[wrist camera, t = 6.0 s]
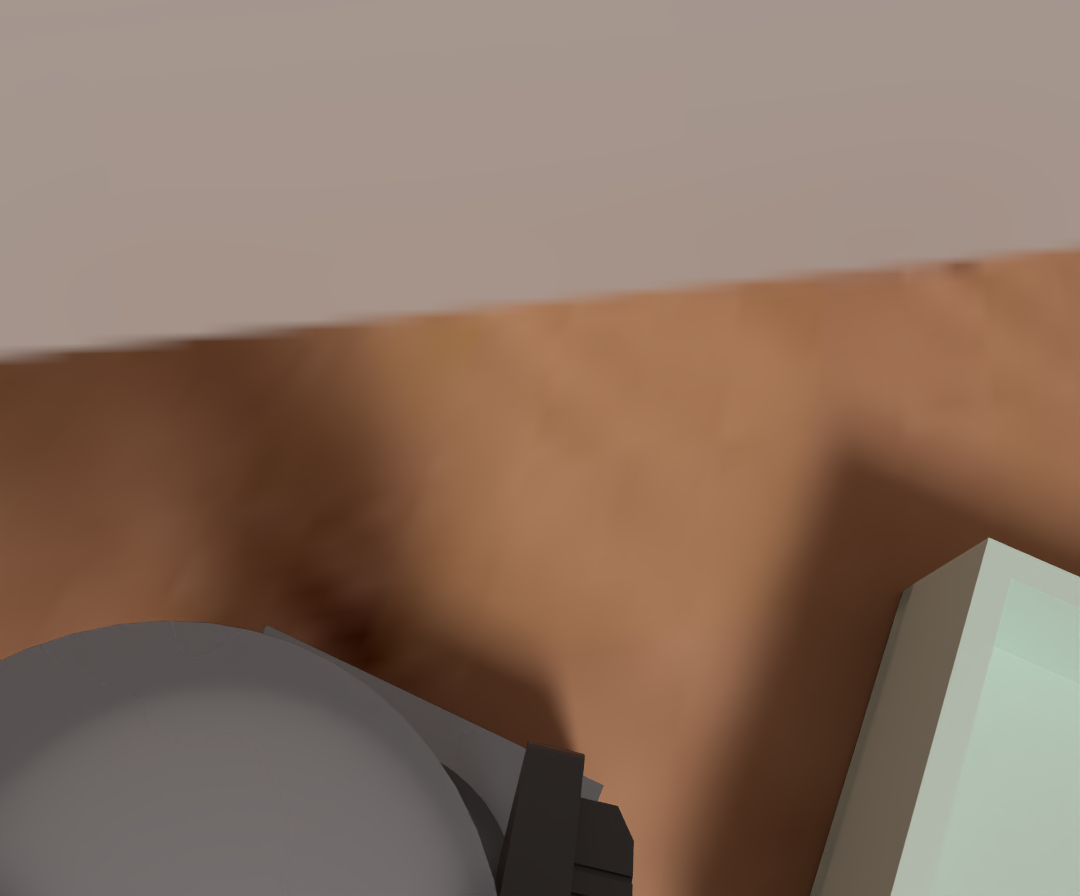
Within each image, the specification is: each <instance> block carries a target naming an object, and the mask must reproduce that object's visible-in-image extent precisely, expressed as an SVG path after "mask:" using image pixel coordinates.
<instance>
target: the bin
mask: <svg viewBox="0 0 1080 896" xmlns="http://www.w3.org/2000/svg"><path fill="white" fill-rule="evenodd" d="M810 896H1080V577H1079V576H1076V575H1074V574H1072V573H1069V572H1067V571H1065V570H1062V569H1060V568H1058V567H1056V566H1053V565H1051V564H1049V563H1046V562H1044V561H1042V560H1039V559H1037V558H1035V557H1033V556H1030V555H1028V554H1026V553H1023V552H1021V551H1019V550H1016V549H1014V548H1012V547H1009V546H1007V545H1005V544H1003V543H1000V542H998V541H996V540H993V539H991V538H987V539H985V540H984V541H982V542H981V543H979V544H977V545H976V546H974V547H972V548H971V549H969V550H968V551H966V552H964V553H963V554H961V555H959V556H958V557H956V558H955V559H953V560H951V561H950V562H948V563H946V564H945V565H943V566H942V567H940V568H938V569H937V570H935V571H933V572H932V573H930V574H929V575H927V576H925V577H924V578H922V579H921V580H919V581H917V582H916V583H914V584H912V585H911V586H909V587H908V588H906V589H904V590H903V592H902V595H901V599H900V602H899V605H898V609H897V612H896V615H895V618H894V622H893V625H892V628H891V631H890V635H889V638H888V641H887V645H886V648H885V651H884V654H883V658H882V661H881V664H880V668H879V671H878V674H877V677H876V681H875V684H874V687H873V691H872V694H871V697H870V700H869V704H868V707H867V710H866V714H865V717H864V720H863V723H862V727H861V730H860V733H859V737H858V740H857V743H856V746H855V750H854V753H853V756H852V759H851V763H850V766H849V769H848V773H847V776H846V779H845V782H844V786H843V789H842V792H841V796H840V799H839V802H838V805H837V809H836V812H835V815H834V819H833V822H832V825H831V828H830V832H829V835H828V838H827V842H826V845H825V848H824V851H823V855H822V858H821V861H820V864H819V868H818V871H817V874H816V878H815V881H814V884H813V887H812V891H811V894H810Z"/></svg>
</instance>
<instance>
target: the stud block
mask: <svg viewBox="0 0 1080 896" xmlns="http://www.w3.org/2000/svg"><path fill="white" fill-rule="evenodd" d="M262 634H265V635H268V636H271V637H274V638H277V639H280V640H284V641H287V642H290V643H293V644H295V645H297V646H299V647H301V648H303V649H306V650H308V651H310V652H312V653H314V654H316V655H318V656H320V657H322V658H325V659H327V660H329V661H331V662H333V663H334V664H336V665H337V666H339V667H340V668H342V669H343V670H345V671H346V672H348V673H349V674H351V675H352V676H354V677H355V678H357V679H359V680H360V681H362V682H363V683H365V684H366V685H368V686H369V687H370V688H371V689H372V690H373V691H375V692H376V693H377V694H378V695H379V696H380V697H381V698H383V699H384V700H385V701H386V702H387V703H388V704H389V705H391V706H392V707H393V708H394V709H395V710H396V711H397V712H399V713H400V714H401V715H402V716H403V717H404V718H405V720H406V721H407V722H408V723H409V724H410V725H411V727H412V728H413V729H414V730H415V731H416V732H417V733H418V735H419V736H420V737H421V738H422V739H423V740H424V741H425V743H426V744H427V745H428V746H429V747H430V748H431V750H432V751H433V753H434V754H435V756H436V757H437V759H438V760H439V762H441V763H442V764H444V765H445V766H447V767H448V768H450V769H451V770H453V771H454V772H455V773H456V774H458V775H459V776H460V777H461V778H462V779H463V780H464V781H466V782H467V783H468V784H469V785H470V786H471V787H472V788H473V789H474V790H475V792H476V793H477V794H478V795H479V796H480V797H481V798H482V800H483V801H484V802H485V803H486V805H487V806H488V808H489V809H490V811H491V812H492V814H493V815H494V817H495V819H496V820H497V822H498V824H499V826H500V828H501V830H502V832H503V834H504V836H505V833H506V829H507V825H508V820H509V816H510V812H511V808H512V804H513V800H514V796H515V792H516V788H517V784H518V780H519V776H520V772H521V767H522V763H523V759H524V755H525V751H526V748H524V747H522V746H520V745H518V744H515V743H513V742H511V741H509V740H507V739H505V738H503V737H501V736H499V735H497V734H494V733H492V732H490V731H488V730H486V729H484V728H482V727H480V726H478V725H476V724H474V723H471V722H469V721H467V720H465V719H463V718H461V717H459V716H457V715H455V714H453V713H450V712H448V711H446V710H444V709H442V708H440V707H438V706H436V705H434V704H432V703H429V702H427V701H425V700H423V699H421V698H419V697H417V696H415V695H413V694H411V693H408V692H406V691H404V690H402V689H400V688H398V687H396V686H394V685H392V684H390V683H387V682H385V681H383V680H381V679H379V678H377V677H375V676H373V675H371V674H369V673H367V672H364V671H362V670H360V669H358V668H356V667H354V666H352V665H350V664H348V663H346V662H343V661H341V660H339V659H337V658H335V657H333V656H331V655H329V654H327V653H325V652H322V651H320V650H318V649H316V648H314V647H312V646H310V645H308V644H306V643H304V642H301V641H299V640H297V639H295V638H293V637H291V636H289V635H287V634H285V633H283V632H280V631H278V630H276V629H274V628H272V627H270V626H268V625H267V626H266V627H265V629H264V631H263V633H262ZM603 786H604V785H602V784H599V783H597V782H595V781H593V780H591V779H589V778H587V777H585V776H583V780H582V790H581V797H582V798H586V799H590V800H594V801H598V798H599V796H600V793H601V791H602V788H603Z"/></svg>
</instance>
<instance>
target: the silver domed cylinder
mask: <svg viewBox="0 0 1080 896" xmlns="http://www.w3.org/2000/svg"><path fill="white" fill-rule="evenodd" d="M504 837H505V836H504V834H503V832H502V830H501V828H500V826H499V824H498V822H497V820H496V819H495V817H494V815H493V814H492V812H491V811H490V809H489V808H488V806H487V805H486V803H485V802H484V801H483V800H482V798H481V797H480V796H479V795H478V794H477V793H476V792H475V790H474V789H473V788H472V787H471V786H470V785H469V784H468V783H467V782H466V781H464V780H463V779H462V778H461V777H460V776H459V775H458V774H456V773H455V772H454V771H453V770H451V769H450V768H448V767H447V766H445V765H444V764H442V763H441V762H439V760H438V759H437V757H436V756H435V754H434V753H433V751H432V750H431V748H430V747H429V746H428V745H427V744H426V743H425V741H424V740H423V739H422V738H421V737H420V736H419V735H418V733H417V732H416V731H415V730H414V729H413V728H412V727H411V725H410V724H409V723H408V722H407V721H406V720H405V718H404V717H403V716H402V715H401V714H400V713H399V712H397V711H396V710H395V709H394V708H393V707H392V706H391V705H389V704H388V703H387V702H386V701H385V700H384V699H383V698H381V697H380V696H379V695H378V694H377V693H376V692H375V691H373V690H372V689H371V688H370V687H369V686H368V685H366V684H365V683H363V682H362V681H360V680H359V679H357V678H355V677H354V676H352V675H351V674H349V673H348V672H346V671H345V670H343V669H342V668H340V667H339V666H337V665H336V664H334V663H333V662H331V661H329V660H327V659H325V658H322V657H320V656H318V655H316V654H314V653H312V652H310V651H308V650H306V649H303V648H301V647H299V646H297V645H295V644H293V643H290V642H287V641H284V640H280V639H277V638H274V637H271V636H268V635H265V634H261V633H258V632H255V631H252V630H247V629H241V628H235V627H230V626H224V625H218V624H212V623H204V622H180V621H154V622H142V623H130V624H118V625H113V626H108V627H103V628H98V629H94V630H89V631H84V632H79V633H74V634H70V635H67V636H64V637H61V638H58V639H55V640H52V641H49V642H46V643H43V644H40V645H37V646H34V647H31V648H28V649H25V650H23V651H21V652H19V653H16V654H14V655H12V656H10V657H8V658H6V659H3V660H1V661H0V896H497V893H496V888H495V883H494V882H495V877H496V872H497V868H498V863H499V859H500V854H501V850H502V845H503V841H504Z"/></svg>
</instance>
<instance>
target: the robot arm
mask: <svg viewBox="0 0 1080 896" xmlns="http://www.w3.org/2000/svg"><path fill="white" fill-rule="evenodd" d="M584 759H585V756H584V754H582V753H578V752H574V751H569V750H565V749H561V748H557V747H553V746H549V745H544V744H540V743H536V742H532V741H528V744H527V747H526V751H525V755H524V759H523V763H522V767H521V772H520V776H519V780H518V784H517V788H516V792H515V796H514V800H513V804H512V808H511V812H510V816H509V820H508V825H507V829H506V833H505V837H504V841H503V845H502V850H501V854H500V859H499V863H498V868H497V872H496V877H495V882H494V883H495V888H496V893H497V896H632V885H633V884H632V878H633V849H634V841H633V838H632V836H631V834H630V832H629V830H628V827H627V825H626V823H625V821H624V819H623V816H622V814H621V812H620V810H619V808H618V806H615V805H611V804H607V803H602V802H598V801H594V800H590V799H586V798H582V797H581V790H582V780H583V770H584Z"/></svg>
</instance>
